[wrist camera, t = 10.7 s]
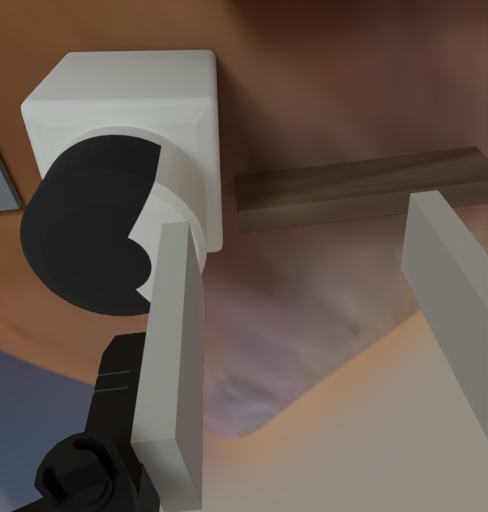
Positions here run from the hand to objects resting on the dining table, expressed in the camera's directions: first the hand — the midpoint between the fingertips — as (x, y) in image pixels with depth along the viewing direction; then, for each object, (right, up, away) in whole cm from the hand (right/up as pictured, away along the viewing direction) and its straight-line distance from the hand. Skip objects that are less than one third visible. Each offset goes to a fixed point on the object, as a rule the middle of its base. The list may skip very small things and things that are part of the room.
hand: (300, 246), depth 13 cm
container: (-7, +8, +13) cm, 16 cm away
